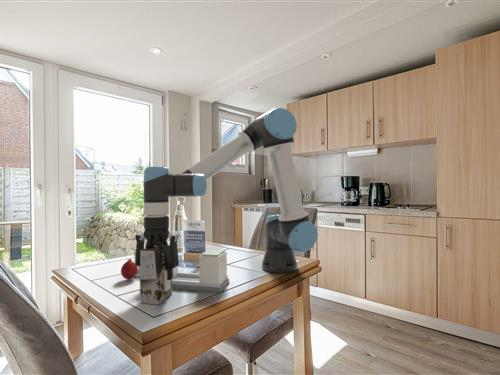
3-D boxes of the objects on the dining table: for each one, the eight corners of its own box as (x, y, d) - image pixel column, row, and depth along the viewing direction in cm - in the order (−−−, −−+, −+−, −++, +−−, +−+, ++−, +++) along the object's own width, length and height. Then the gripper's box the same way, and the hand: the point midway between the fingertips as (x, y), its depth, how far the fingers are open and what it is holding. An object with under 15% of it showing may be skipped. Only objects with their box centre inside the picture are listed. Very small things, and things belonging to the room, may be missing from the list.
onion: (127, 283, 102) (127, 261, 102) (117, 280, 105) (117, 259, 105) (140, 279, 107) (140, 258, 107) (131, 276, 110) (131, 256, 110)
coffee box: (158, 305, 83) (158, 250, 83) (139, 303, 84) (139, 249, 84) (173, 293, 92) (173, 244, 92) (155, 292, 93) (155, 243, 93)
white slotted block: (229, 282, 103) (229, 249, 103) (220, 292, 93) (220, 255, 93) (160, 277, 109) (160, 246, 109) (145, 286, 99) (145, 252, 99)
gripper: (190, 215, 90) (190, 287, 90) (136, 214, 94) (136, 282, 94) (179, 217, 82) (179, 295, 82) (121, 216, 87) (122, 290, 86)
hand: (156, 288), depth 88 cm, fingers closed on coffee box, 6 cm apart
